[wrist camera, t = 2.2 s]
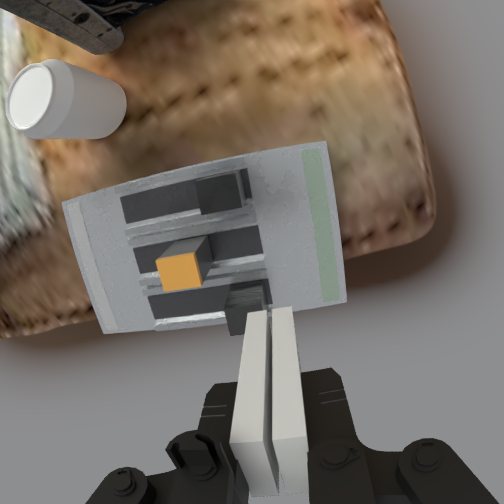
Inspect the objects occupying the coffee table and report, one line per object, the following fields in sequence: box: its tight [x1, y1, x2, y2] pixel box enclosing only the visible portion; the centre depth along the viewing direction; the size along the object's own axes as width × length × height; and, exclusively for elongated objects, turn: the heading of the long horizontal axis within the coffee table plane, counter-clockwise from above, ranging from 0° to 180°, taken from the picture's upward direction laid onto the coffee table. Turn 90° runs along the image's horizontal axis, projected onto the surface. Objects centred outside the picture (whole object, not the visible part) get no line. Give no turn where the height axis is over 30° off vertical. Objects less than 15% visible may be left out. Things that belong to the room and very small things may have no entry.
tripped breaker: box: [156, 235, 214, 292], centre depth 26 cm, size 3×2×6 cm
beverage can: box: [6, 59, 127, 139], centre depth 22 cm, size 6×6×12 cm
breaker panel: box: [61, 141, 347, 336], centre depth 28 cm, size 26×15×7 cm, turn 101°
